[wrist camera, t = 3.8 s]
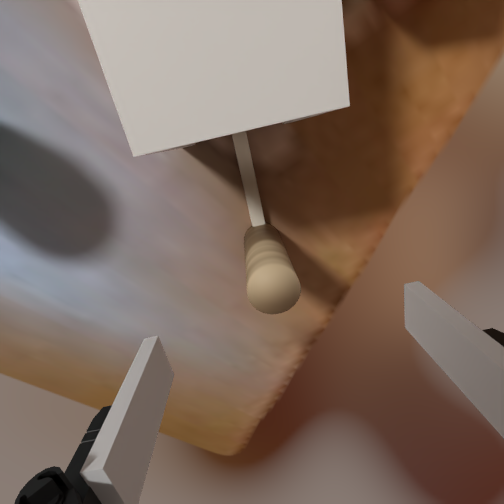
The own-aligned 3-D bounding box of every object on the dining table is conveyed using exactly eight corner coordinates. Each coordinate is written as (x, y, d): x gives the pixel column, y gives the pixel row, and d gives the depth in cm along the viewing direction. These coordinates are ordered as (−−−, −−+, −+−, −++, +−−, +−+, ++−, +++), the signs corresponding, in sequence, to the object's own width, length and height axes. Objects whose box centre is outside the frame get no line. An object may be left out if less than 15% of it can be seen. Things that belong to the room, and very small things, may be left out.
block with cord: (179, 45, 22) (135, -23, 12) (256, 26, 22) (270, -59, 12) (236, 262, 29) (235, 322, 19) (295, 249, 28) (323, 304, 19)
